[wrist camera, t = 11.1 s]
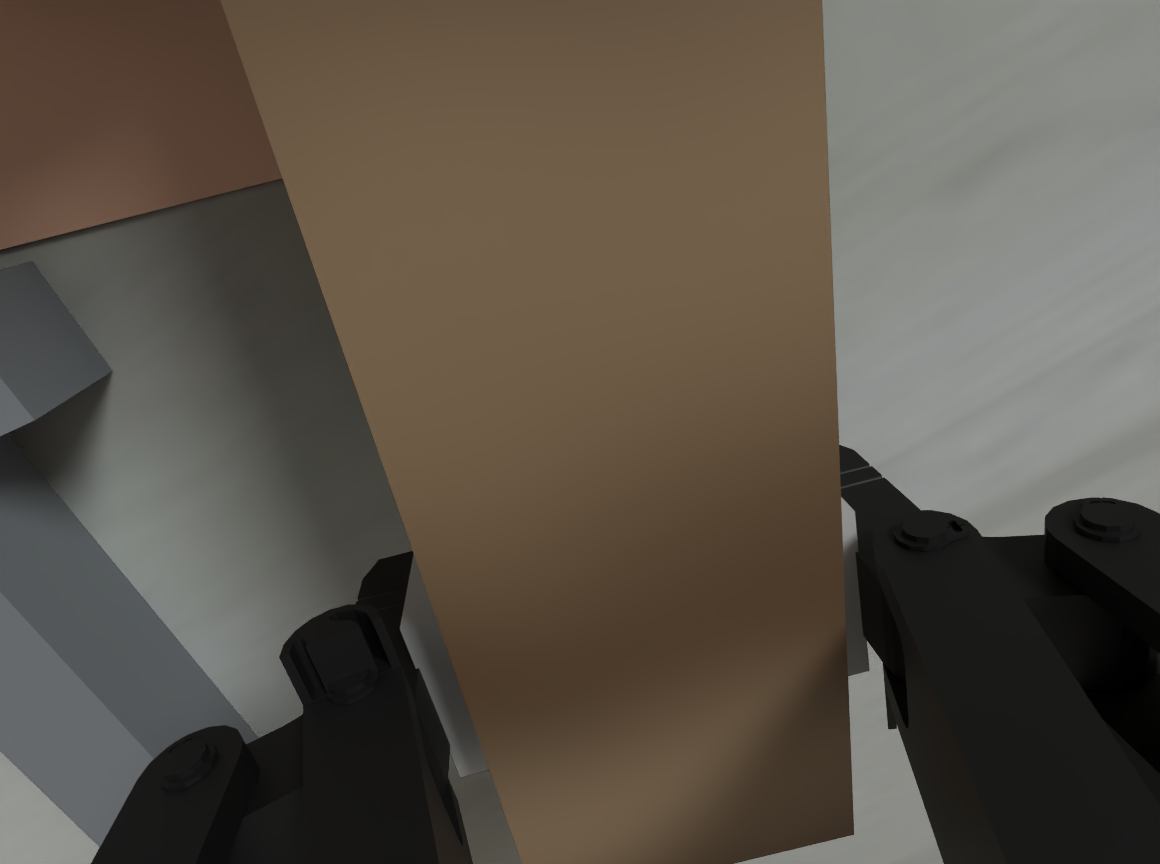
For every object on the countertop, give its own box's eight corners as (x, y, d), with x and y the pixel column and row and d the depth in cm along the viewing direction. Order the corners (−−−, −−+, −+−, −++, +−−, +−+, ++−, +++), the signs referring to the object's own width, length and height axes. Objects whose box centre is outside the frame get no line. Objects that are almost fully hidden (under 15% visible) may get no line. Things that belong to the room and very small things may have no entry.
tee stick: (382, 736, 20) (365, 832, 17) (125, 843, 21) (67, 953, 18) (36, 260, 15) (-70, 290, 12) (-304, 420, 15) (-481, 485, 12)
